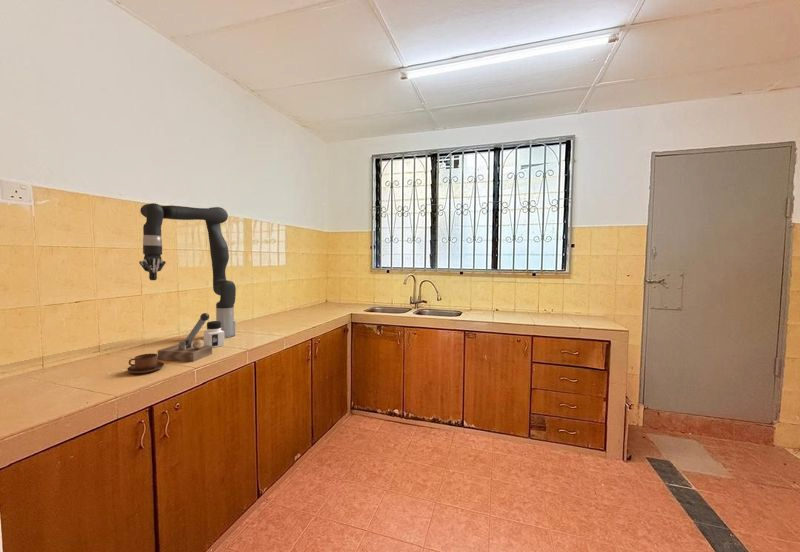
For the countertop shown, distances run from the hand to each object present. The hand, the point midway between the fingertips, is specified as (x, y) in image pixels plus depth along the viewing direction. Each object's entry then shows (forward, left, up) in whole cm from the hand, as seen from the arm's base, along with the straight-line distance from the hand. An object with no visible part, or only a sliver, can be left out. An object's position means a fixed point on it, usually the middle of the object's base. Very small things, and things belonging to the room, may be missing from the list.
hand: (153, 280), depth 161 cm
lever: (-6, +21, -31) cm, 38 cm away
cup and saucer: (+12, +31, -35) cm, 48 cm away
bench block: (-6, +22, -35) cm, 42 cm away
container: (-23, +12, -35) cm, 44 cm away
